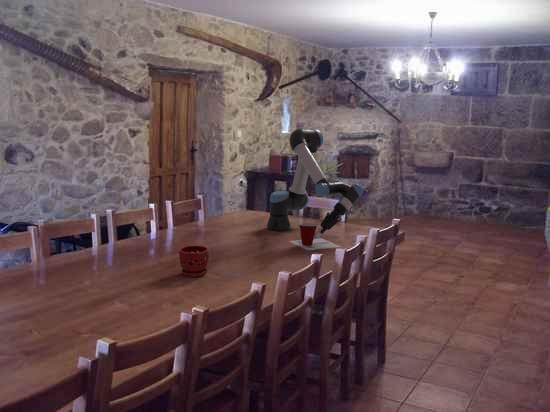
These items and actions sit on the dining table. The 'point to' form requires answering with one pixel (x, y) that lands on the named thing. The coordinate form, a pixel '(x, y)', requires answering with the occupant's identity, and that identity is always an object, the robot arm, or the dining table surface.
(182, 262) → the plant pot
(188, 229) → the dining table surface
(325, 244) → the placemat
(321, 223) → the robot arm
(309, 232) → the plastic cup
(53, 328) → the dining table surface
